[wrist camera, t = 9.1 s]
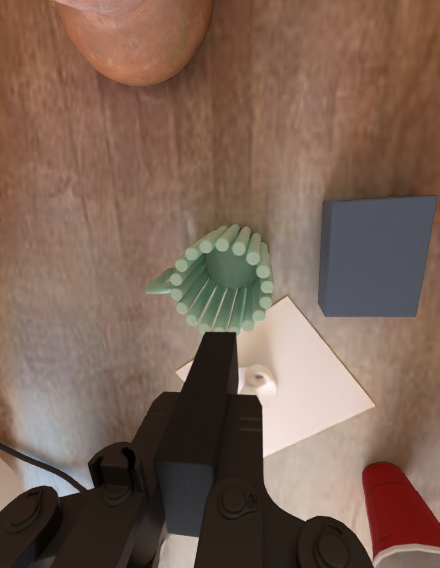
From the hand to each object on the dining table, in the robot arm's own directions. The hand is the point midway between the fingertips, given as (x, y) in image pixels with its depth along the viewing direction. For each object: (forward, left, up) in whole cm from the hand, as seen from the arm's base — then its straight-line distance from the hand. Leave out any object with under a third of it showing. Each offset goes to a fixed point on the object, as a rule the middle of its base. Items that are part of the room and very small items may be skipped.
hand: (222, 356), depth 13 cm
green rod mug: (+4, 0, -19) cm, 19 cm away
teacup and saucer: (+3, -19, -21) cm, 28 cm away
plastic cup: (+19, -34, -21) cm, 44 cm away
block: (+13, 0, -21) cm, 24 cm away
